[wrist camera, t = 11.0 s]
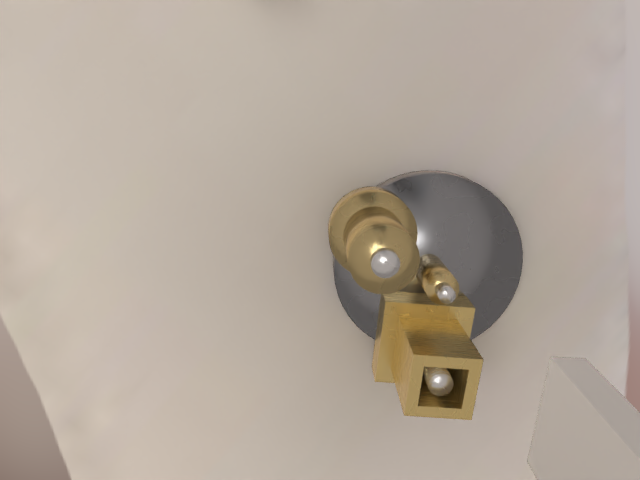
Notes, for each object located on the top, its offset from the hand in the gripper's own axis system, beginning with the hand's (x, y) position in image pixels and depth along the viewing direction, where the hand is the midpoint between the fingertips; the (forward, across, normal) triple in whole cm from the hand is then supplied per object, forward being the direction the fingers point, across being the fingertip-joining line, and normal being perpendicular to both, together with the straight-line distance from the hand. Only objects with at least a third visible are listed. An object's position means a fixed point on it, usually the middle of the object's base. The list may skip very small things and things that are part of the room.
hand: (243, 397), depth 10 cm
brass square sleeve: (+22, +9, -10) cm, 26 cm away
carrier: (+24, +10, -5) cm, 26 cm away
